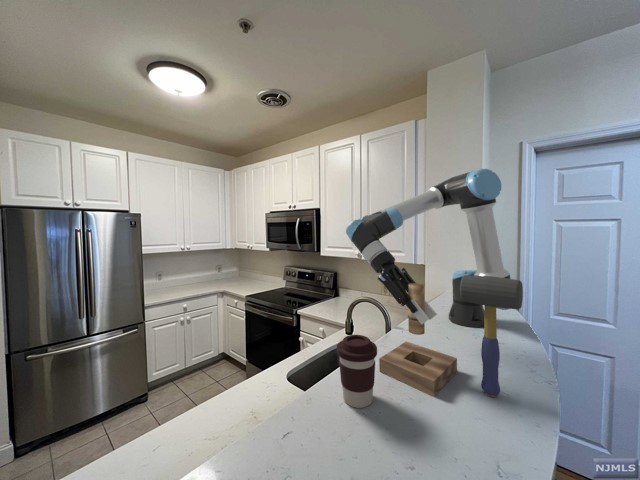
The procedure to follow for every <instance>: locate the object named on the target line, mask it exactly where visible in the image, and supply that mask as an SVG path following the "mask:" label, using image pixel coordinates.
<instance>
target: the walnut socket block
mask: <svg viewBox="0 0 640 480" xmlns="http://www.w3.org/2000/svg"><path fill="white" fill-rule="evenodd" d="M378 369H379V372H380V373H382V374H384V375H386V376H388V377H390V378H393V379H395V380H396V381H398V382H401V383H404V384H405V385H407V386H410V387H412V388H413V389H416V390H418V391H420V392H423V393H425V394H426V395H429V396H431V397H433V398H435V397H436V396H437V395H438V393H439V392H440V391H441V390H443V389H442V388H444V387H445V386H446V384H447V383H448V382H449V381H450V380H451V379H452V377H453V376H454V375H456V373H457V372H458V357H454V356H452V355H448V354H446V353H443V352H440V351H436V350H434V349H430V348H427V347H424V346H423V345H422V346H421V345H419V344H415V343H412V342H409V341H405V342H403V343H401V344H400V345H399V346H397V347H395V348H393V349H392V350H390V351H389V352H387V353H385V354H384V355H383V356H381V357H379V368H378Z"/></svg>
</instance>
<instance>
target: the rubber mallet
mask: <svg viewBox="0 0 640 480" xmlns="http://www.w3.org/2000/svg"><path fill="white" fill-rule="evenodd" d="M523 294H524V289H523V282H522V281H521V280H519V279H514V278H513V279H512V278H511V279H508V278H501V277H493V276H476V275H464V276H463V277H462V279H461V283H460V296H461V298H462V300H464V301H467V302H471V303H475V304H480V305H483V306H484V311H485V313H484V328H483V329H484V331H483V332H484V333H483V336H482V340H481V351H480V352H481V353H480V354H481V355H480V356H481V361H482V363H481V364H482V378H481V379H482V380H481V383H480V387H481V389H482V391H483V393H484V394H485V395H486V396H489V397H492V398H496V397H498V396H499V394H500V392H501V387H500V382H499V366H500V359H501V358H500V357H501V356H500V352H501V351H500V344H499V341H498V335H497V334H498V333H497V332H498V331H497V329H498V327H497V323H498V322H497V308H496V307H498V308H508V310H510V309H511V310H520V309H521V308H522V307H523V300H524V299H523V297H524V295H523Z"/></svg>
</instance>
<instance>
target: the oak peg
mask: <svg viewBox="0 0 640 480" xmlns="http://www.w3.org/2000/svg"><path fill="white" fill-rule="evenodd" d="M407 293H408V295H409V297H410V298H411V300H412V299H414V300H415V302H416V303H417V304H418V305H419V306H420V308H421V309H422V310H423V311H424V299H425V284H424V283H421V282H416V283H409V284H408V292H407ZM407 308H408V307H407ZM407 313H408V314H407V318H408V332H409V333H410V334H411V335H412V334H413V335H417V336H419V335H420V336H421V335H424V334H425V328H426V327H425V323H426V322H425V323H423V324H422V325H421V323H420V322H419V321H418V319H417V318H416V317H415V316H414V314H413V313H412V312H411V311H410V310H409V308H408V312H407Z"/></svg>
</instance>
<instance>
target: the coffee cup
mask: <svg viewBox="0 0 640 480" xmlns="http://www.w3.org/2000/svg"><path fill="white" fill-rule="evenodd" d="M336 354H337V355H338V356H339V359H338V360H339V361H338V363H339V364H338V365H339V374H340V384H341V386H342V387H341V388H342V397H343V400H344V402H345V403H346V405H349V406H350V407H353V408H359V409H361V408H366V407H368V406H370V405H371V404H372V402H373V400H374V399H373V395H374V385H375V377H376V376H375V375H376V374H375V373H376V360H375V358H377V355H378V347H377V345H376V344H375V342H373V341H371V340H370V338H369V337H367V336H365V335H363V334H349V335H346V336H344V338H343V339H342V340H340V341H339V342H338V343H337V344H336Z"/></svg>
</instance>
